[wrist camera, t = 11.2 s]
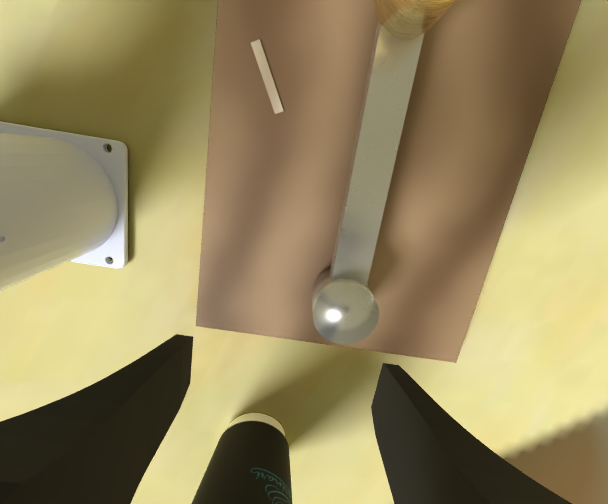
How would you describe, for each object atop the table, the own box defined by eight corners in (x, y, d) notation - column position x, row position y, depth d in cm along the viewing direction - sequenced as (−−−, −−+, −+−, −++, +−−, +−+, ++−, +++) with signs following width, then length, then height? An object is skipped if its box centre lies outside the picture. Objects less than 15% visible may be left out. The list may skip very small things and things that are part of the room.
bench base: (201, 317, 22) (195, 326, 21) (229, -68, 16) (223, -87, 15) (448, 352, 23) (456, 363, 22) (566, -2, 17) (587, -15, 15)
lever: (307, 314, 20) (309, 391, 14) (366, -22, 15) (416, -169, 8) (361, 321, 20) (390, 402, 14) (438, -9, 15) (544, -142, 9)
